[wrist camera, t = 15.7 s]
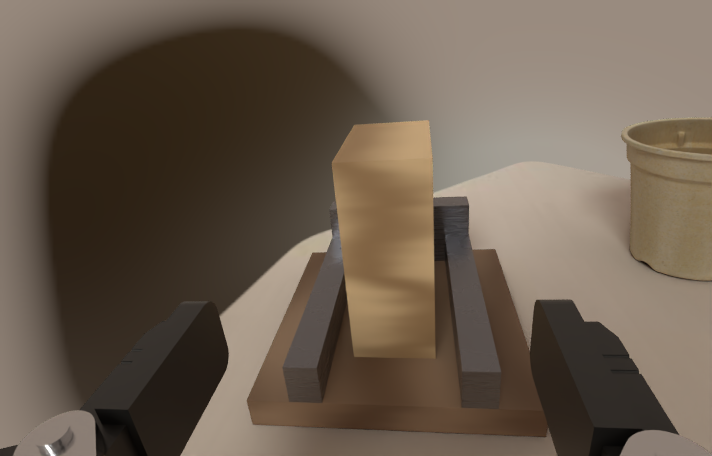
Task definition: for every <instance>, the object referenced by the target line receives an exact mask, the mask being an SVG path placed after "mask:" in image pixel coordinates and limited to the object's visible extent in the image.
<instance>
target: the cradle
mask: <svg viewBox="0 0 712 456" xmlns="http://www.w3.org/2000/svg"><path fill="white" fill-rule="evenodd" d="M330 218H331V226H332V235H333V237H332V240H331V243H330V245H329V248H328V250H327V252H324V253H312V255H311V257H310V260H309V262H308V264H307V266H306V269H305V271H304V273H303V275H302V278H301V280H300V282H299V284H298V287H297V289H296V291H295V293H294V296H293V298H292V300H291V302H290V305H289V307H288V309H287V311H286V314H285V316H284V318H283V320H282V323H281V325H280V327H279V329H278V331H277V334H276V336H275V338H274V340H273V343H272V345H271V347H270V349H269V352H268V354H267V356H266V358H265V361H264V363H263V365H262V367H261V370H260V372H259V374H258V376H257V379H256V381H255V383H254V385H253V388H252V390H251V392H250V394H249V397H248V399H247V404H248V407H249V411H250V415H251V419H252V423H253V424H257V425H280V426H304V427H327V428H351V429H374V430H397V431H421V432H444V433H468V434H491V435H515V436H538V437H546V434H547V427H548V424H547V421H546V418H545V415H544V411H543V408H542V405H541V402H540V399H539V396H538V393H537V389H536V386H535V383H534V380H533V376H532V371H531V364H530V351H529V348H528V345H527V342H526V339H525V336H524V333H523V331H522V328H521V325H520V322H519V319H518V316H517V313H516V310H515V307H514V304H513V301H512V298H511V295H510V292H509V289H508V286H507V283H506V280H505V277H504V274H503V271H502V268H501V265H500V262H499V259H498V256H497V253H496V250H495V249H486V250H472V247H471V243H470V239H469V234H468V226H469V204H468V200H467V197H440V198H433V222H434V287H435V353H436V359H430V358H380V357H354V353H353V344H352V336H351V327H350V318H349V310H348V301H347V292H346V283H345V275H344V266H343V257H342V249H341V240H340V231H339V223H338V214H337V205H336V201H333V203H332V205H331V208H330Z"/></svg>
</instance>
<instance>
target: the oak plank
mask: <svg viewBox="0 0 712 456" xmlns="http://www.w3.org/2000/svg"><path fill="white" fill-rule="evenodd" d="M432 159H433V158H432V148H431V138H430V128H429V121H428V120H427V121H411V122H395V123H379V124H363V125H354V126H353V128H352V130H351V132H350V133H349V135H348V137H347V138H346V140H345V142H344V143H343V145H342V147H341V148H340V150H339V152H338V153H337V155H336V157H335V158H334V160H333V162H332V170H333V178H334V188H335V196H336V205H337V214H338V223H339V231H340V240H341V249H342V257H343V266H344V275H345V283H346V292H347V301H348V310H349V318H350V327H351V336H352V344H353V353H354V357H380V358H430V359H436V353H435V287H434V222H433V161H432Z"/></svg>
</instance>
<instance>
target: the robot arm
mask: <svg viewBox="0 0 712 456" xmlns="http://www.w3.org/2000/svg"><path fill="white" fill-rule="evenodd" d="M228 356H229V353H228V346H227V342H226V339H225V335H224V332H223V328H222V325H221V321H220V317H219V314H218V311H217V307H216V305H215V304H214V303H213V302H182V303H181V304H180V305H179V306H178V307H177V308H176V309H175V311H174V312H173V313H172V314H171V316H170V317H169V318H168V319H167V320H166V321H162V322H161V323H159V324H158V325H156V326H155V327H153V328H152V329H151V330H149V331H148V332H146V333H145V334H144V335H143V336H142V337H141V338H140V340H139V341H138V342H137V343H136V344H135V345H134V347H133V348H132V351H131V352H128V354H127V355H126V356H125V357H124V358H123V359H122V361H121V364H118V365H117V367H116V368H115V369H114V370H113V371H112V372H111V374H110V375H109V376H108V377H107V378H106V379H105V381H104V382H103V383H102V384H101V385H100V387H99V388H98V389H97V390H96V391H95V392H94V393H93V395H92V396H91V397H90V398H89V399H88V400H87V402H86V403H85V404H84V405H83V407H81V409H80V410H76V411H69V412H65V413H62V414H59V415H56V416H54V417H52V418H50V419H48V420H46V421H45V422H43V423H42V424H40V425H38V426H37V427H36V428H34V429H33V430H32V431H31V432H29V434H27V435H26V436H25V437H24V439H23V440H22V441H21V442H20V443H19V445H16V446H11V447H7V448H3V449H0V456H180V455H181V453H182V451H183V449H184V448H185V446H186V444H187V442H188V440H189V438H190V436H191V435H192V433H193V431H194V429H195V427H196V425H197V423H198V422H199V420H200V418H201V416H202V414H203V412H204V410H205V409H206V407H207V405H208V403H209V401H210V399H211V397H212V396H213V394H214V392H215V390H216V388H217V386H218V384H219V383H220V381H221V379H222V377H223V375H224V373H225V371H226V368H227V365H228ZM530 364H531V371H532V376H533V380H534V383H535V386H536V389H537V393H538V396H539V399H540V402H541V405H542V408H543V411H544V415H545V418H546V421H547V424H548V427H549V430H550V433H551V436H552V440H553V443H554V446H555V449H556V452H557V455H558V456H712V454H711V453H709V452H708V451H707V450H705V449H704V448H703V447H701V446H700V445H698V444H696V443H695V442H693V441H691V440H689V439H687V438H685V437H682V436H680V435H679V434H678V432H677V431H676V429H675V427H674V426H673V424H672V423H671V421H670V419H669V418H668V416H667V415H666V413H665V411H664V410H663V408H662V407H661V405H660V403H659V402H658V400H657V399H656V397H655V395H654V394H653V392H652V391H651V389H650V387H649V386H648V384H647V383H646V381H645V379H644V378H643V376H642V375H641V374H639V370H638V368H637V367H636V365H635V363H634V362H633V360H632V359H630V358H629V354H628V352H627V350H626V349H625V347H624V346H623V344H622V342H621V341H620V339H619V338H618V337H617V336H616V335H615V334H614V333H612V332H611V331H610V330H608V329H607V328H606V327H605V326H603V325H602V324H601V323H600V322H584V320H583V319H582V317H581V315H580V313H579V311H578V309H577V308H576V306H575V304H574V302H573V301H572V300H536V302H535V306H534V314H533V325H532V336H531V347H530Z"/></svg>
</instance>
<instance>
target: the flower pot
mask: <svg viewBox="0 0 712 456" xmlns="http://www.w3.org/2000/svg"><path fill="white" fill-rule="evenodd" d="M621 137H622V140H623V141H624V142H625V143H627V159H628V161H629V162H630V163H631V229H630V251H631V253H632V255H633V256H634V258H635V259H636V260H638V261H644V262H646V263H647V264H648V265H650V266H651V267H652V268H653V269H654V270H655V271H657V272H660V273H663V274H667V275H670V276H674V277H679V278H685V279H691V280H702V281H712V117H711V118H672V119H661V120H654V121H646V122H641V123H637V124H633V125H630V126H628V127H626V128H625V129H624V130H623V131H622V135H621Z"/></svg>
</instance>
